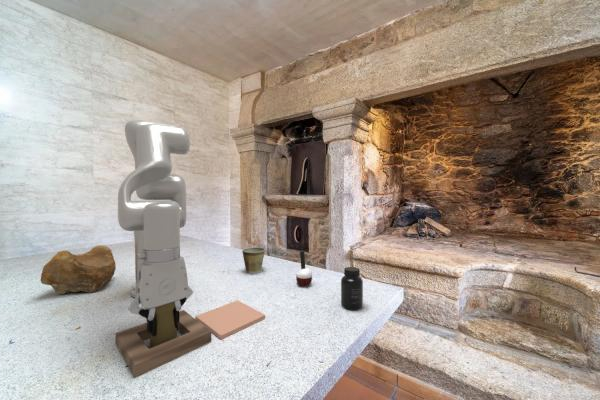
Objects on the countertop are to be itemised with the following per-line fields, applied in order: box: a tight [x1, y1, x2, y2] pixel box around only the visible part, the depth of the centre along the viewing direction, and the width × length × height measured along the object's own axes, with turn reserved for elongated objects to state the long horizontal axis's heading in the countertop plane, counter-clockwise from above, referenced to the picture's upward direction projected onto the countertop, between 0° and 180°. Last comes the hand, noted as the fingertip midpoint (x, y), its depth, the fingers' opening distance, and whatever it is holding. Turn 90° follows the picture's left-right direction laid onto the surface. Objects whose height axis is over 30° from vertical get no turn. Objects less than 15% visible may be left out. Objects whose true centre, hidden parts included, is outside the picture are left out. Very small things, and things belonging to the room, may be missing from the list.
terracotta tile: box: [195, 299, 266, 340], centre depth 71 cm, size 14×14×1 cm
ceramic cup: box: [242, 246, 266, 275], centre depth 114 cm, size 13×10×10 cm
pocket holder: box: [115, 309, 212, 378], centre depth 60 cm, size 16×16×2 cm
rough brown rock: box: [40, 245, 117, 295], centre depth 93 cm, size 23×17×15 cm
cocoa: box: [295, 250, 313, 288], centre depth 97 cm, size 10×6×12 cm, turn 168°
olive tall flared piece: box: [149, 302, 178, 349], centre depth 60 cm, size 6×6×11 cm
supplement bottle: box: [340, 266, 364, 311], centre depth 80 cm, size 7×7×12 cm
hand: (163, 328), depth 60 cm, fingers closed on olive tall flared piece, 4 cm apart
